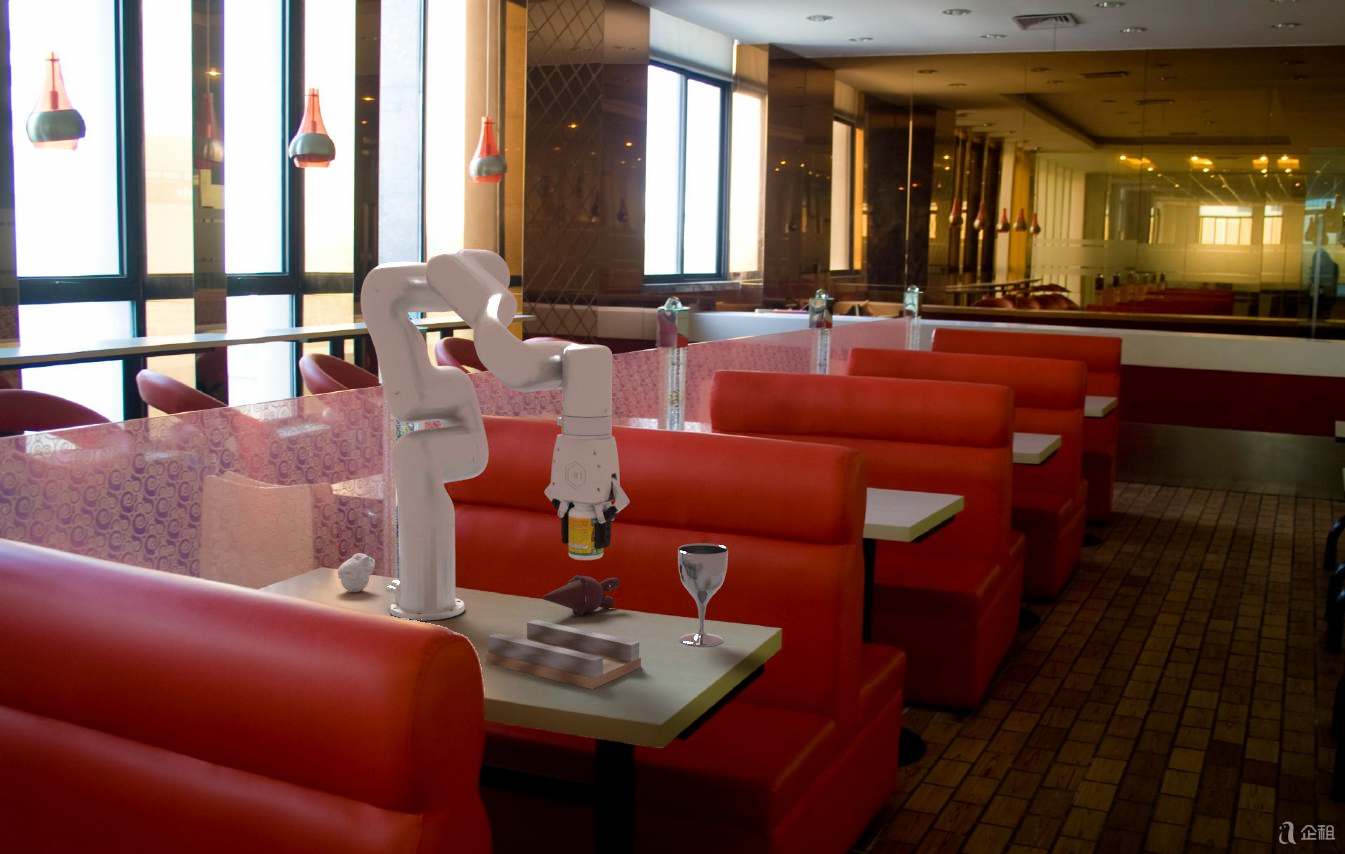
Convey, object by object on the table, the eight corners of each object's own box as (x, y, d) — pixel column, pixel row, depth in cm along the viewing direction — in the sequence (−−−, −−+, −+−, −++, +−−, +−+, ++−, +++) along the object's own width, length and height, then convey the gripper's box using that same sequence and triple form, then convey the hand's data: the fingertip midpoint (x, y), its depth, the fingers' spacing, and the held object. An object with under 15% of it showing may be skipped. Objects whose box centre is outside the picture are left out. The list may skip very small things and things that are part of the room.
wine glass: (733, 636, 195) (735, 546, 193) (714, 650, 188) (716, 556, 186) (688, 630, 198) (690, 541, 196) (668, 643, 191) (670, 551, 189)
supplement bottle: (578, 551, 186) (578, 490, 185) (609, 554, 184) (610, 493, 183) (562, 558, 181) (562, 495, 180) (593, 562, 179) (594, 498, 178)
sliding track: (485, 662, 180) (485, 636, 179) (537, 643, 190) (537, 618, 189) (592, 689, 169) (592, 661, 168) (640, 667, 179) (641, 641, 178)
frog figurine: (381, 592, 219) (381, 554, 218) (345, 598, 215) (345, 559, 214) (366, 585, 224) (366, 548, 223) (331, 591, 219) (330, 553, 219)
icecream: (557, 588, 199) (632, 584, 207) (537, 569, 204) (610, 565, 213) (548, 626, 201) (623, 620, 209) (529, 605, 206) (602, 600, 215)
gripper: (526, 424, 181) (525, 542, 184) (620, 434, 173) (618, 557, 175) (556, 420, 188) (555, 533, 190) (648, 429, 179) (646, 547, 181)
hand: (585, 543), depth 182 cm, fingers closed on supplement bottle, 5 cm apart
